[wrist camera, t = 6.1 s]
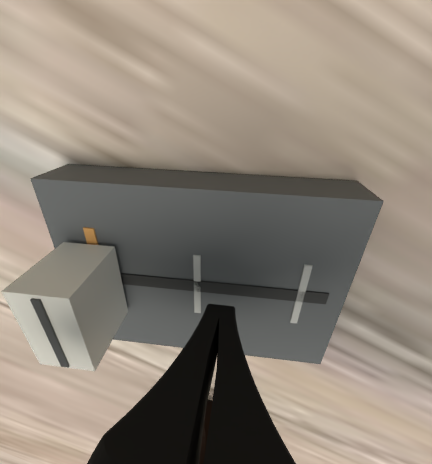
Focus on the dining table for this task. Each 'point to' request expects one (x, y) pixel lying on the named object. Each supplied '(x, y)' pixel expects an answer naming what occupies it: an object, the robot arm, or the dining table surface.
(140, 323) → the console
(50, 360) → the fader
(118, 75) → the dining table surface
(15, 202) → the dining table surface
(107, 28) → the dining table surface
